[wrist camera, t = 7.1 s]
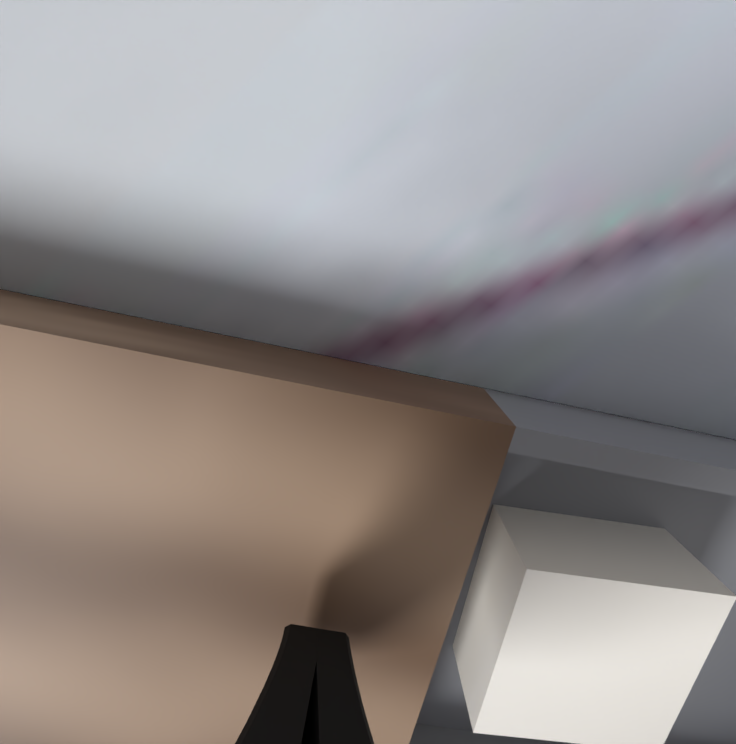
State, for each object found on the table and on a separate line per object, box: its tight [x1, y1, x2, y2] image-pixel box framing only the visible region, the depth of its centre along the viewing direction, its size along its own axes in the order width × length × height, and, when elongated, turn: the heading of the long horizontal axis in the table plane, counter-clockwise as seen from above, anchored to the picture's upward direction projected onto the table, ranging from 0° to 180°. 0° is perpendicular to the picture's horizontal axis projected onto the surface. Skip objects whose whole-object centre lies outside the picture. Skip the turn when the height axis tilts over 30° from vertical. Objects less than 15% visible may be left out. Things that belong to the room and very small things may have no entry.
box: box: [409, 388, 736, 744], centre depth 13 cm, size 12×13×2 cm
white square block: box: [453, 504, 736, 744], centre depth 12 cm, size 5×5×2 cm
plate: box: [0, 289, 516, 744], centre depth 11 cm, size 12×16×2 cm
